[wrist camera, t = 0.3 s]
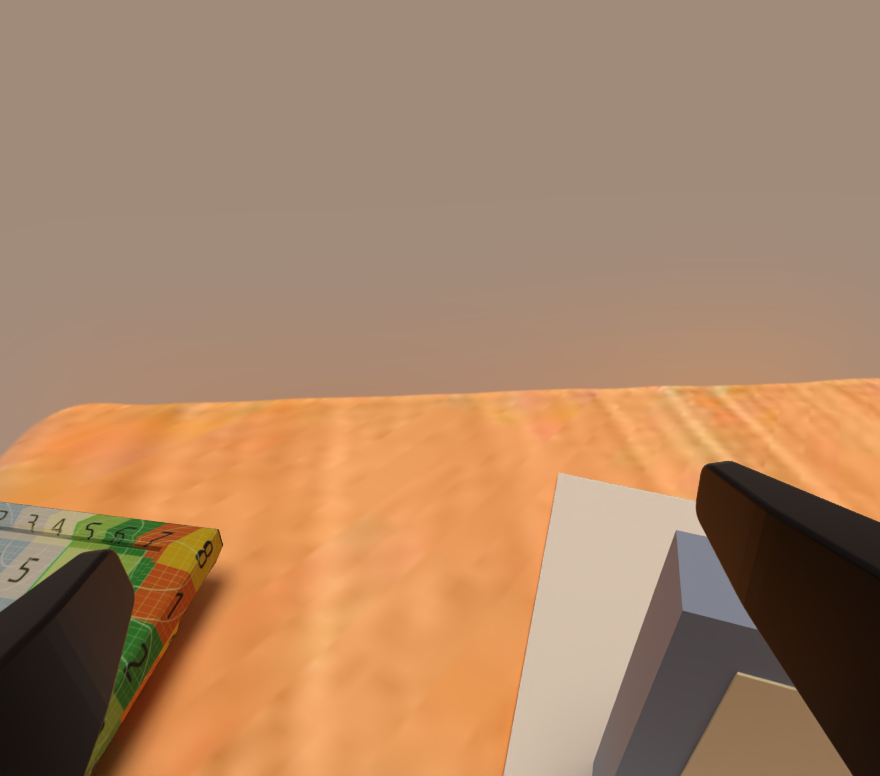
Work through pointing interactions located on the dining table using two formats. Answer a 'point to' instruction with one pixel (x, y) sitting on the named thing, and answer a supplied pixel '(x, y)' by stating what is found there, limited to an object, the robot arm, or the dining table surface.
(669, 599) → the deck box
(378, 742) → the dining table surface
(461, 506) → the dining table surface
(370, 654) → the dining table surface
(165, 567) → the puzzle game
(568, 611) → the mat
